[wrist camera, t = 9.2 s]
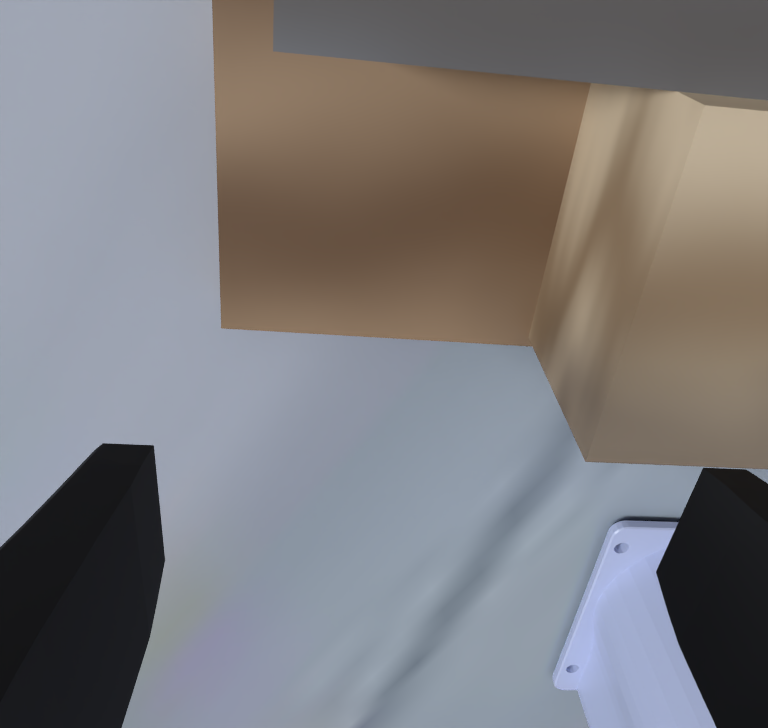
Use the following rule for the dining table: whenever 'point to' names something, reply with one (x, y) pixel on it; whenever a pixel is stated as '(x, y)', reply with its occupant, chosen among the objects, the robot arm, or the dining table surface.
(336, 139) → the board
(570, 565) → the dining table surface
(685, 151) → the scraper
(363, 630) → the dining table surface
